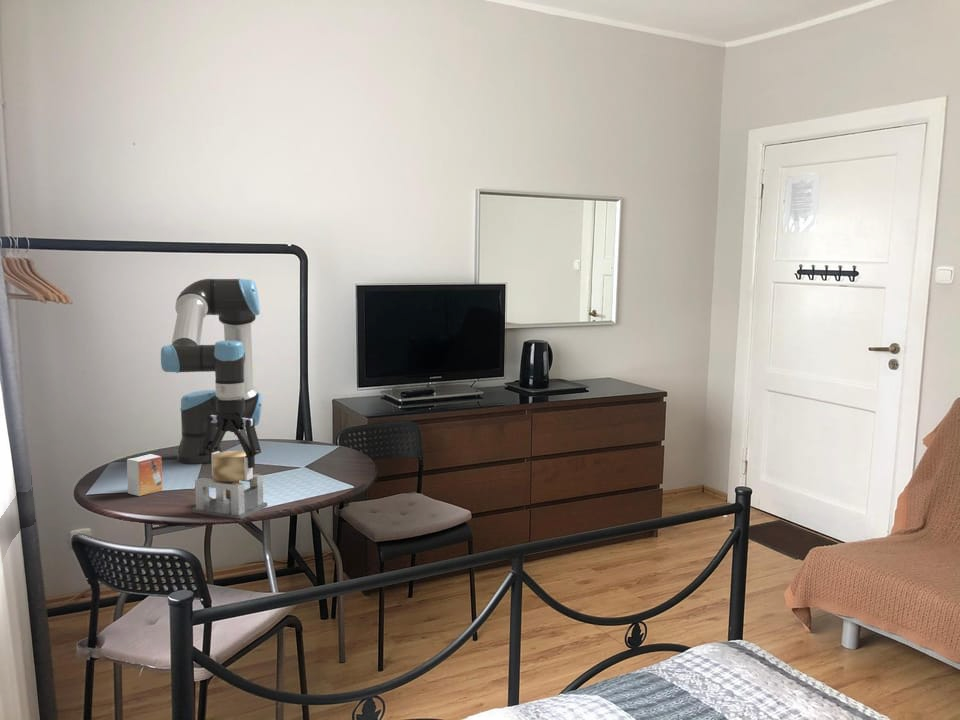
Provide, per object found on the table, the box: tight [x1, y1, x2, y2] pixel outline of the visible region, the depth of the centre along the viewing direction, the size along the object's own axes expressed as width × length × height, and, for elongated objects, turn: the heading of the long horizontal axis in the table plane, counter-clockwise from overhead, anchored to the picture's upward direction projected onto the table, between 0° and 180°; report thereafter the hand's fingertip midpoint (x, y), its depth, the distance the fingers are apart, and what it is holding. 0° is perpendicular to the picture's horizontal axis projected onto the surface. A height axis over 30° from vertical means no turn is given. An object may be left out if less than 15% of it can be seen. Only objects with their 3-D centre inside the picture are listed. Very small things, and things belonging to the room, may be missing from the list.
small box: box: [126, 453, 163, 497], centre depth 232 cm, size 8×6×10 cm
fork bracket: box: [191, 473, 268, 520], centre depth 217 cm, size 16×12×9 cm
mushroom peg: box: [212, 450, 247, 499], centre depth 216 cm, size 10×10×12 cm
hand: (232, 477), depth 216 cm, fingers closed on mushroom peg, 10 cm apart
